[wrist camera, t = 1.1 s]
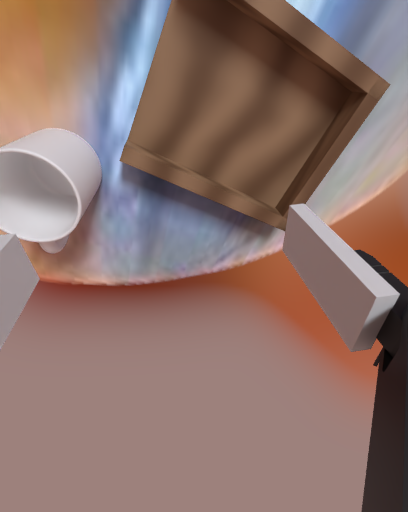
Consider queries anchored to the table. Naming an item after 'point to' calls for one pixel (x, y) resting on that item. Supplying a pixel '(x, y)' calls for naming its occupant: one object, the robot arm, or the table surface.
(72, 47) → the table surface
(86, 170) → the mug
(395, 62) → the table surface
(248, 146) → the tray
